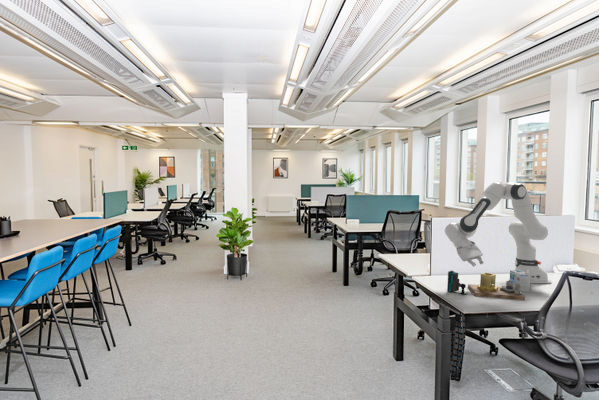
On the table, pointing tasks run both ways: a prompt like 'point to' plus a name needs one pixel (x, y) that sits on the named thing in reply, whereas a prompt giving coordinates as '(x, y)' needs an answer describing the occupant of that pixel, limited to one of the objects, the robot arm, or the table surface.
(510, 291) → the gear
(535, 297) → the table surface
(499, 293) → the walnut board
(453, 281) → the surveillance camera
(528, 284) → the light bulb box
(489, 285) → the yellow flanged housing
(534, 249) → the robot arm
